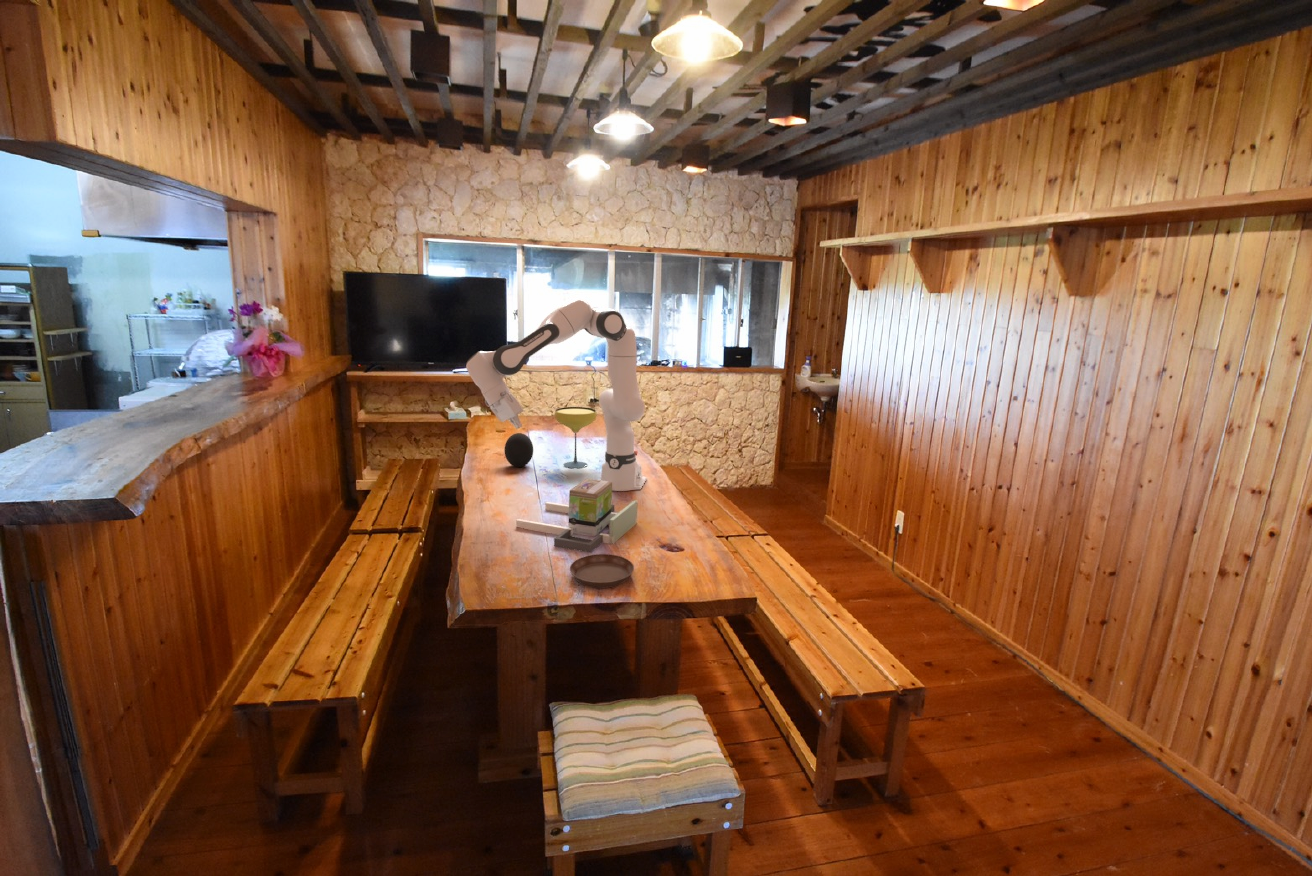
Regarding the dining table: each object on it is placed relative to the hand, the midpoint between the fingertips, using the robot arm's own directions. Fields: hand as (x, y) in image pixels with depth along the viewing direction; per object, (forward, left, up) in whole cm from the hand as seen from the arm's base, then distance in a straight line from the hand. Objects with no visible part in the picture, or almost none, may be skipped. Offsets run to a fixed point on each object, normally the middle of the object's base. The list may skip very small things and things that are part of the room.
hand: (519, 427), depth 228 cm
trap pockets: (+13, +33, -28) cm, 45 cm away
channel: (+12, +29, -28) cm, 42 cm away
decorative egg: (-41, -26, -28) cm, 56 cm away
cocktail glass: (-54, -5, -28) cm, 61 cm away
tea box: (+12, +34, -28) cm, 46 cm away
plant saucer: (+44, +53, -29) cm, 75 cm away
